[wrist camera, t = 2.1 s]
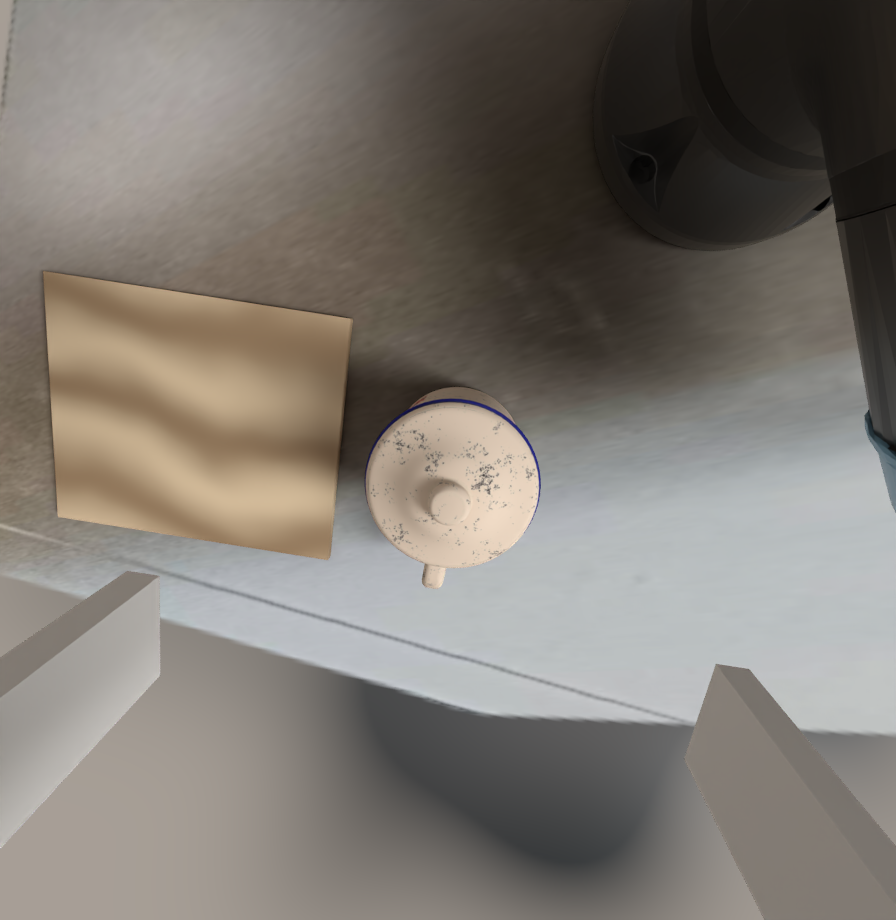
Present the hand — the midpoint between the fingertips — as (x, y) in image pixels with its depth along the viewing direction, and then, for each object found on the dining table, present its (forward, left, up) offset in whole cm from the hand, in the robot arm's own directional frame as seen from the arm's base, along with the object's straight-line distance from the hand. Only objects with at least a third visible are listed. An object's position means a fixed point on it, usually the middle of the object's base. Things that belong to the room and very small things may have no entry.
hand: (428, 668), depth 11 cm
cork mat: (+1, -18, -22) cm, 29 cm away
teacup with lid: (+1, 0, -23) cm, 23 cm away
